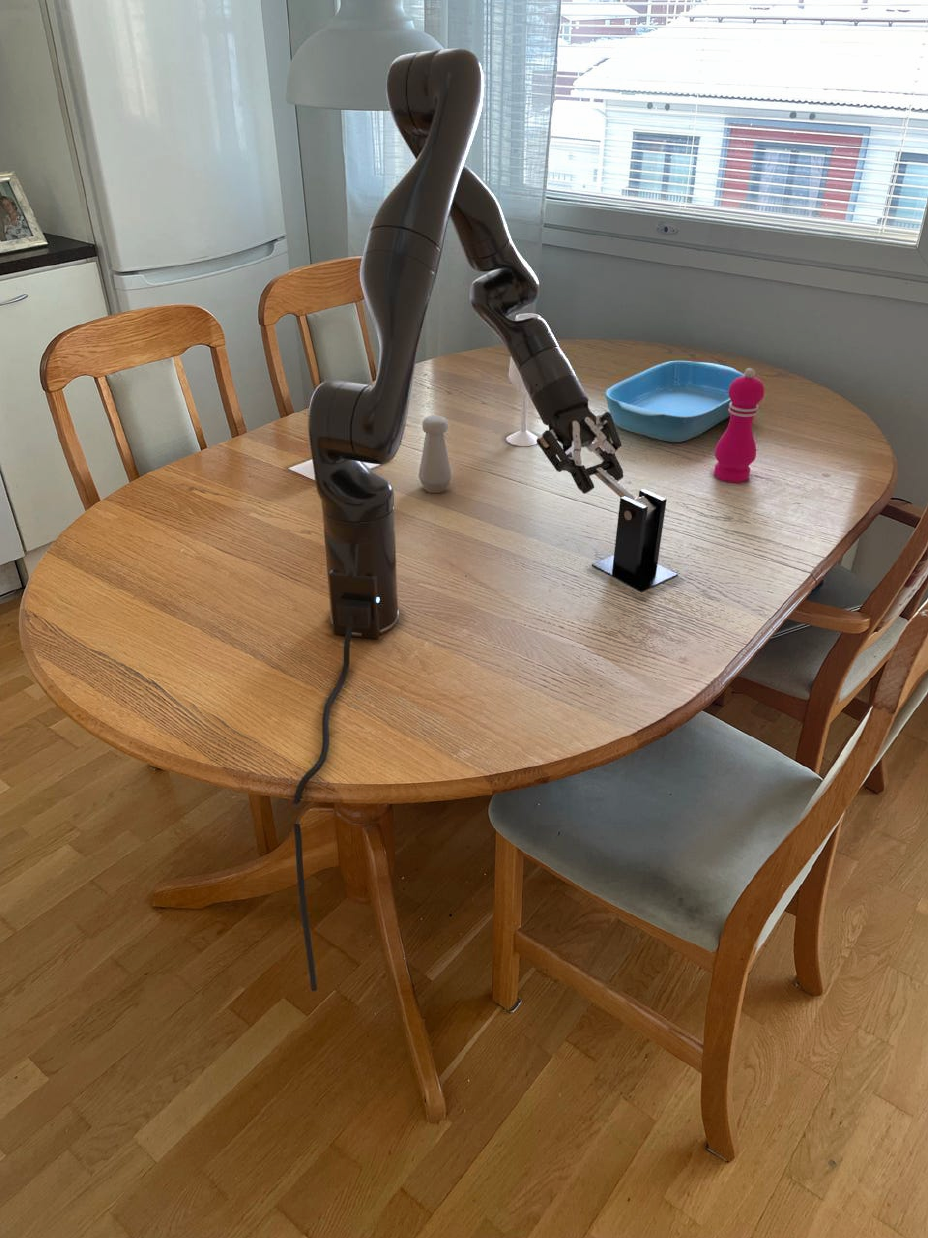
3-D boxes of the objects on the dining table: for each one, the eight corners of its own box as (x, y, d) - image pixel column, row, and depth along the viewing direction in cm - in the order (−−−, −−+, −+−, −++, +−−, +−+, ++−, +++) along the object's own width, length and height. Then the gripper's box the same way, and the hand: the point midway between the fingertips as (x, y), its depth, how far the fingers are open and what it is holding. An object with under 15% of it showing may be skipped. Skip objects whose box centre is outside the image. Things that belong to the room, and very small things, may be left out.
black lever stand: (591, 571, 139) (598, 493, 132) (627, 555, 143) (636, 479, 136) (640, 598, 133) (651, 518, 126) (677, 581, 137) (689, 503, 130)
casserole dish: (681, 457, 176) (686, 421, 172) (584, 429, 188) (586, 395, 184) (764, 407, 200) (770, 374, 196) (672, 384, 212) (677, 353, 208)
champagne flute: (545, 443, 182) (552, 319, 169) (514, 447, 179) (519, 323, 166) (531, 431, 187) (537, 310, 174) (500, 435, 185) (504, 313, 172)
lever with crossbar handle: (577, 477, 136) (582, 465, 135) (603, 468, 139) (608, 456, 138) (632, 527, 131) (638, 514, 129) (658, 516, 134) (664, 504, 132)
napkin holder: (327, 486, 164) (325, 456, 161) (287, 468, 170) (284, 439, 167) (388, 461, 173) (387, 432, 170) (347, 445, 180) (345, 417, 177)
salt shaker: (447, 496, 161) (447, 425, 154) (415, 493, 162) (414, 422, 155) (454, 482, 166) (454, 413, 159) (423, 479, 166) (422, 410, 159)
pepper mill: (706, 478, 168) (724, 370, 157) (716, 464, 173) (734, 359, 163) (746, 486, 165) (767, 377, 154) (755, 472, 171) (776, 365, 160)
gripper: (530, 383, 131) (583, 487, 130) (600, 363, 139) (652, 462, 137) (504, 409, 137) (555, 508, 136) (573, 389, 145) (622, 483, 144)
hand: (603, 485), depth 137 cm, fingers closed on lever with crossbar handle, 5 cm apart
